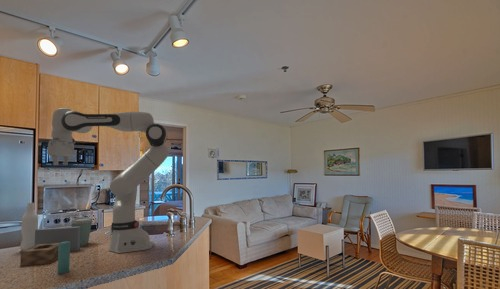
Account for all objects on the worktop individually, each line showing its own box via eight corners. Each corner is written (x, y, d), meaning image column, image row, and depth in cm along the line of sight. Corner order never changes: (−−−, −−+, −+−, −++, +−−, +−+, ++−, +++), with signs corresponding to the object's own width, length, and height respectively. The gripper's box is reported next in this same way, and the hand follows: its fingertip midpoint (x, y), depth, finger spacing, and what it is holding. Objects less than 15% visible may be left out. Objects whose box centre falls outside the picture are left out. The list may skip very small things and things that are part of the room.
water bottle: (22, 253, 139) (25, 204, 141) (17, 251, 143) (20, 203, 145) (39, 249, 145) (41, 202, 147) (33, 247, 149) (36, 202, 151)
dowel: (70, 269, 114) (71, 240, 115) (66, 273, 110) (67, 243, 111) (60, 270, 113) (61, 241, 114) (55, 274, 109) (56, 244, 110)
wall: (79, 249, 144) (80, 226, 145) (77, 250, 141) (78, 227, 142) (37, 252, 140) (38, 228, 141) (34, 254, 137) (35, 230, 138)
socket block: (63, 254, 134) (63, 242, 134) (50, 263, 122) (51, 249, 123) (35, 256, 131) (36, 244, 132) (20, 265, 120) (20, 251, 120)
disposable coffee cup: (95, 241, 158) (96, 216, 159) (85, 247, 147) (85, 219, 149) (77, 242, 158) (78, 216, 159) (65, 247, 147) (66, 220, 148)
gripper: (58, 136, 131) (57, 164, 130) (76, 140, 151) (75, 165, 150) (43, 136, 130) (42, 165, 129) (64, 140, 150) (63, 165, 149)
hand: (60, 165), depth 140 cm, fingers open, 8 cm apart
